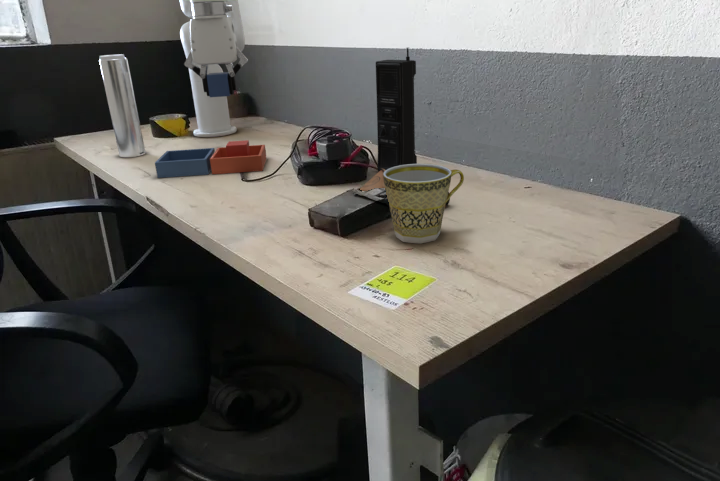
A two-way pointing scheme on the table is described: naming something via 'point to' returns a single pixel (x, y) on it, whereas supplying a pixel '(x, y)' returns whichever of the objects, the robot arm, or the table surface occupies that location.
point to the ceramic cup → (418, 199)
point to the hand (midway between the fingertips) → (220, 93)
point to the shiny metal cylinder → (122, 105)
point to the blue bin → (184, 163)
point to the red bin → (238, 161)
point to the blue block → (218, 84)
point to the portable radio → (395, 112)
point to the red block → (238, 148)
